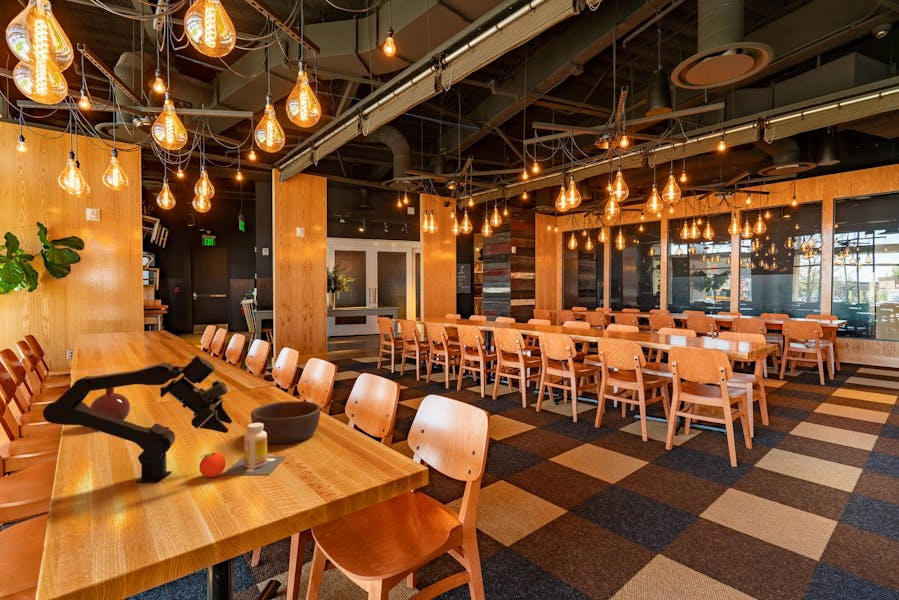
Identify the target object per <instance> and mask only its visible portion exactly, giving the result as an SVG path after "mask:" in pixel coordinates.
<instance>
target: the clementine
mask: <svg viewBox="0 0 899 600" xmlns="http://www.w3.org/2000/svg"><path fill="white" fill-rule="evenodd" d="M200 458H202V459H200ZM199 459H200V462H199V466H198V469H199V472H200V474H201V475H202V476H203V477H204V478H215V477H217V476H219V475H221V474H222V472H223V471H224V470H225V467H226V458H225V457H224V455H222V454H221V453H219V452H210V453H206V454H203V455H202V456H200V457H199Z"/></svg>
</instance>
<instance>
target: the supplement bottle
mask: <svg viewBox="0 0 899 600" xmlns="http://www.w3.org/2000/svg"><path fill="white" fill-rule="evenodd" d="M263 428H264V424H263V423H252V422H251V423H250V424H247V429H246V430H247V432H246V433H245V435H244V436H243V438H244V439H243V446H244V448H243V452H244V453H243V456H244V465H245V467H247V468H258V467H261V466H264V465H265V464H266V463H267V456H268V443H267V433H266V432H265V431H263Z"/></svg>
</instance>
